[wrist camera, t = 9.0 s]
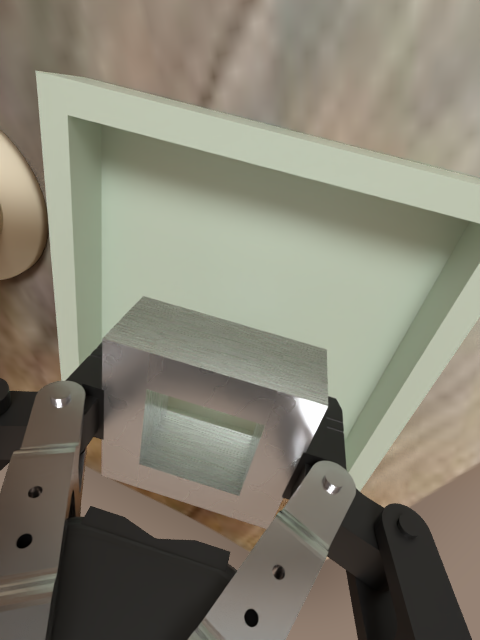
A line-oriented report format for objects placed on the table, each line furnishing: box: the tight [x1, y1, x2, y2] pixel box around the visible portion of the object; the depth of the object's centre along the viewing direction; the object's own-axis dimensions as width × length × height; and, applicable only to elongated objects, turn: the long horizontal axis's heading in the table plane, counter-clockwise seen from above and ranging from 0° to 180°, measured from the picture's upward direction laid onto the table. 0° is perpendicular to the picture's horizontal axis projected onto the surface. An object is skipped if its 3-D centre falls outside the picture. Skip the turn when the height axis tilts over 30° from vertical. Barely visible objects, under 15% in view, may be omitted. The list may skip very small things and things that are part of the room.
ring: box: [102, 296, 328, 529], centre depth 12 cm, size 6×6×2 cm
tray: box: [36, 71, 480, 491], centre depth 16 cm, size 16×16×3 cm
